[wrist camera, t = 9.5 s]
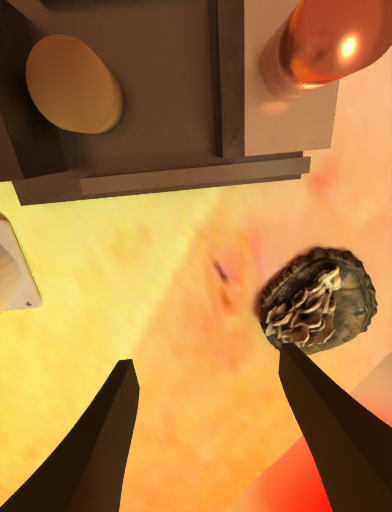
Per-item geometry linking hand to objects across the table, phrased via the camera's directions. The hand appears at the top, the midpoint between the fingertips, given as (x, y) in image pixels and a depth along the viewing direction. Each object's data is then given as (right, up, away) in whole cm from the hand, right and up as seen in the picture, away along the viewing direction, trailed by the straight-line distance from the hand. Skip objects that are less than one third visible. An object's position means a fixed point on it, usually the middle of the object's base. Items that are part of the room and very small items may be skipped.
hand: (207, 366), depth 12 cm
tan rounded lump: (-7, +15, +3) cm, 17 cm away
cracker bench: (-4, +16, +4) cm, 17 cm away
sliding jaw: (+3, +16, +3) cm, 17 cm away
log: (+11, +1, +12) cm, 16 cm away
